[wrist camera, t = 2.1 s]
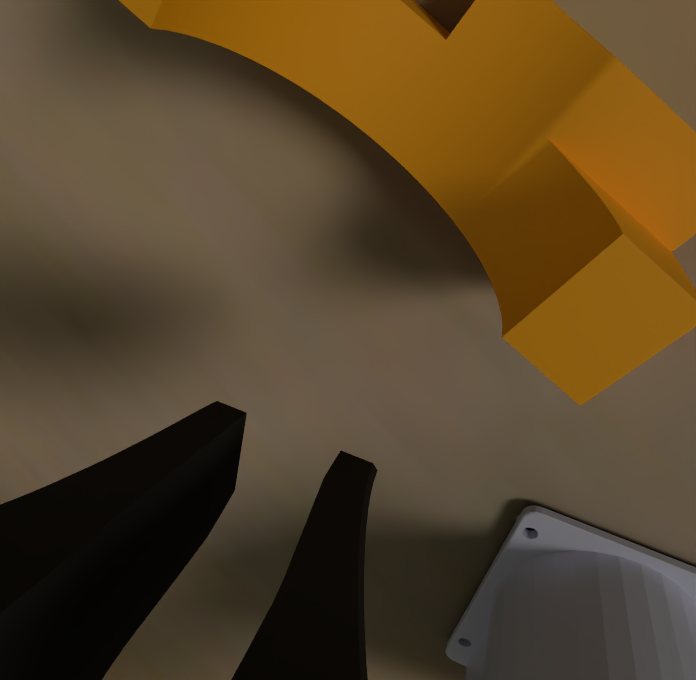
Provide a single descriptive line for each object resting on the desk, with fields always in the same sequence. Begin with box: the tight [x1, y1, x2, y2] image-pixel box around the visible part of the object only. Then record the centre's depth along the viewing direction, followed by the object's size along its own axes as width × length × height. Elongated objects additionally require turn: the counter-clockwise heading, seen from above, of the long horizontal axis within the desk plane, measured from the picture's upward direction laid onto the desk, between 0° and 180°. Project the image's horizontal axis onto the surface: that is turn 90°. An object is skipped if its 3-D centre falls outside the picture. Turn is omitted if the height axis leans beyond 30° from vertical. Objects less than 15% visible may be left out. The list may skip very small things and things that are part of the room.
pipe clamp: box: [119, 0, 696, 406], centre depth 11 cm, size 12×4×6 cm, turn 53°
